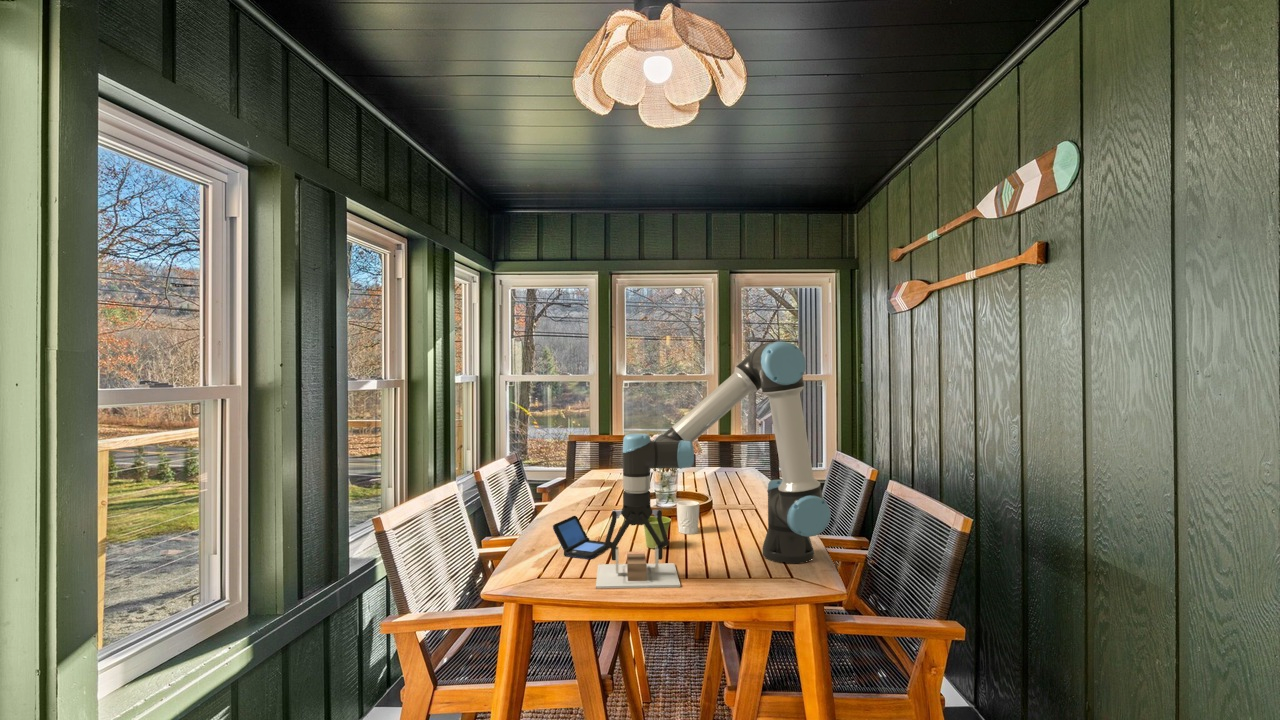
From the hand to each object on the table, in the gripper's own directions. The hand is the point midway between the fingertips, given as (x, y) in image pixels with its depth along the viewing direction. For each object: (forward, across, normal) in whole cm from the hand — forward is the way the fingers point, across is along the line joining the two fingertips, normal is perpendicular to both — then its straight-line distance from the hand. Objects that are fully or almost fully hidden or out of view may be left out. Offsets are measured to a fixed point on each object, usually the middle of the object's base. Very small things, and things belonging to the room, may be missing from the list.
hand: (637, 571), depth 175 cm
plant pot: (+2, -7, -28) cm, 29 cm away
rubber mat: (+1, 0, 0) cm, 1 cm away
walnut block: (+1, 0, 0) cm, 1 cm away
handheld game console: (+2, +16, -25) cm, 30 cm away
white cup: (+2, -19, -45) cm, 49 cm away
